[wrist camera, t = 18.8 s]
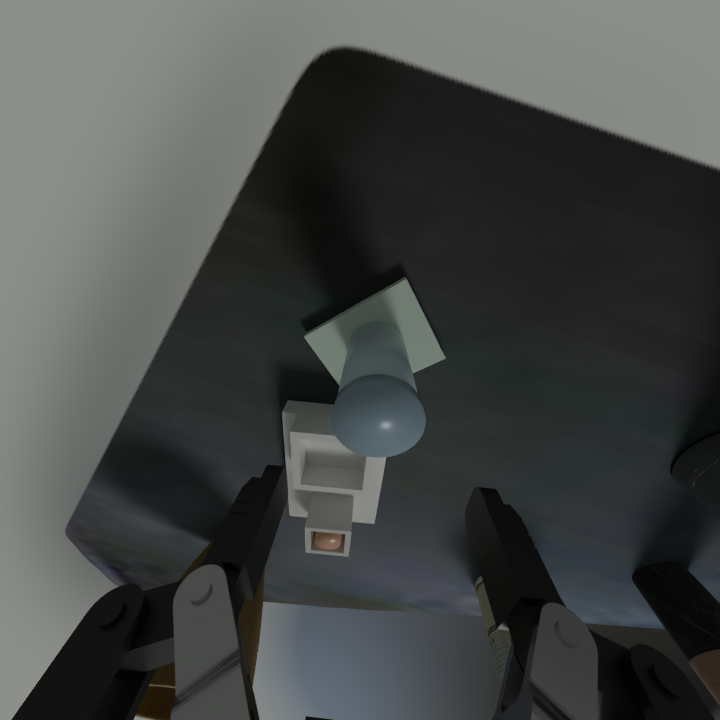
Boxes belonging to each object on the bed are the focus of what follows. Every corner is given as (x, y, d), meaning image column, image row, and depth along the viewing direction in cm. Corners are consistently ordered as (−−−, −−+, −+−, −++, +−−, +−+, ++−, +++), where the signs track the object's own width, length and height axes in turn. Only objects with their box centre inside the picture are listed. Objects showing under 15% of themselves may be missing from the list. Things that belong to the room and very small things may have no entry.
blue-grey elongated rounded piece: (410, 322, 22) (435, 389, 13) (400, 375, 24) (416, 461, 16) (348, 317, 22) (332, 379, 13) (345, 370, 24) (329, 453, 16)
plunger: (344, 504, 32) (341, 535, 28) (343, 519, 33) (340, 550, 30) (320, 502, 32) (314, 533, 28) (319, 517, 33) (314, 548, 30)
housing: (391, 409, 28) (395, 454, 22) (374, 508, 36) (374, 559, 30) (287, 400, 28) (267, 442, 22) (293, 501, 36) (280, 549, 30)
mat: (405, 276, 21) (406, 278, 20) (443, 353, 24) (445, 358, 23) (306, 332, 24) (303, 336, 23) (351, 395, 27) (350, 401, 26)
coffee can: (517, 560, 40) (582, 714, 27) (551, 586, 43) (623, 735, 30) (460, 581, 43) (495, 725, 31) (495, 603, 46) (540, 743, 34)
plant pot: (244, 574, 46) (187, 731, 32) (175, 531, 41) (68, 697, 26) (309, 552, 41) (275, 722, 27) (240, 500, 36) (154, 679, 22)
